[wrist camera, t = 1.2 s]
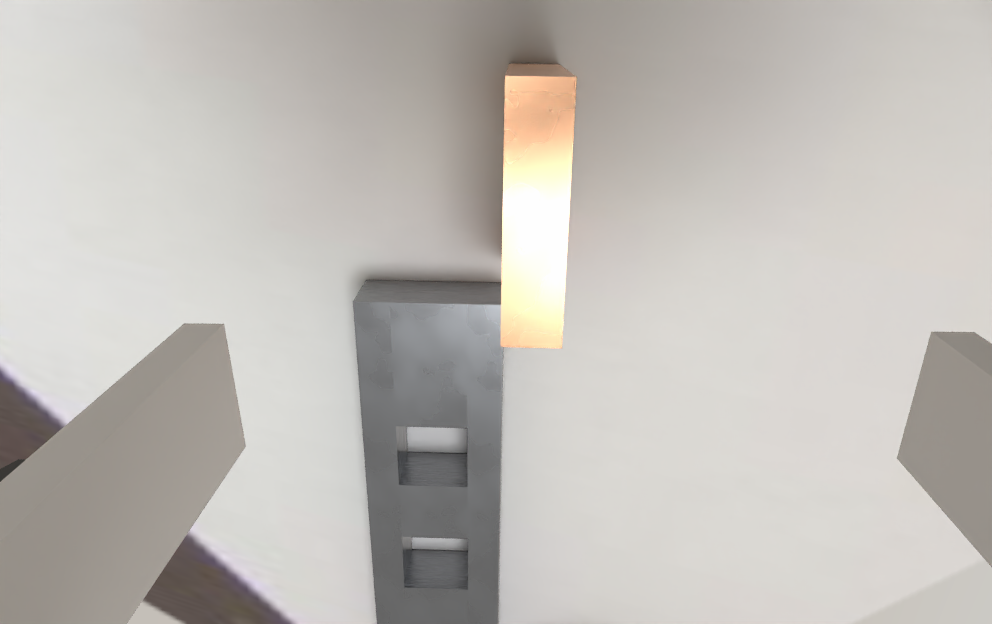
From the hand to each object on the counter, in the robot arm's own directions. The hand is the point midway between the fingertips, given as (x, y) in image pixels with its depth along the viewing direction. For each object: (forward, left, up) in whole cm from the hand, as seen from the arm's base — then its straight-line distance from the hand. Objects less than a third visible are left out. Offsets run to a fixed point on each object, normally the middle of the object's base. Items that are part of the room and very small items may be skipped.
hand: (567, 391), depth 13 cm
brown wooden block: (0, -1, -21) cm, 21 cm away
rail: (+17, +6, -21) cm, 27 cm away
